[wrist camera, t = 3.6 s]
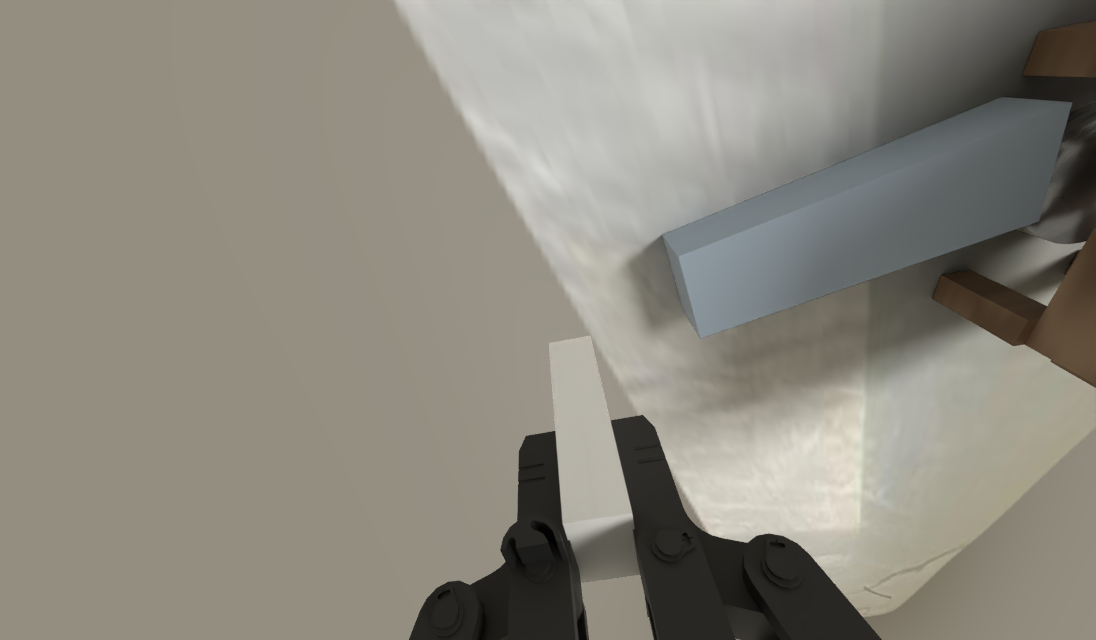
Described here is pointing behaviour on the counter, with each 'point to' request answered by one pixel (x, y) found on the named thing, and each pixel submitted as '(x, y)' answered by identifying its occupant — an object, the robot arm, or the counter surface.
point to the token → (1071, 184)
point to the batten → (870, 214)
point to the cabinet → (1092, 278)
